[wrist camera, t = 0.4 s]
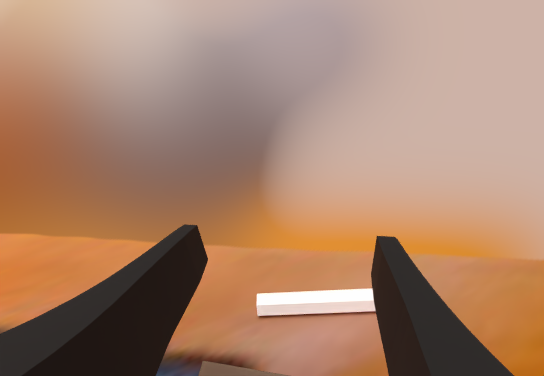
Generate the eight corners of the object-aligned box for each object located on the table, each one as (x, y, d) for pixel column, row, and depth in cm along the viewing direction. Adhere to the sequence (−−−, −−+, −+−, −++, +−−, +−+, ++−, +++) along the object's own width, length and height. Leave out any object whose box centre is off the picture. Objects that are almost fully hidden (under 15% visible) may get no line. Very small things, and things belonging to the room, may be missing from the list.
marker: (407, 307, 28) (259, 313, 29) (402, 286, 28) (259, 293, 29) (417, 310, 25) (256, 316, 26) (412, 287, 26) (256, 294, 27)
